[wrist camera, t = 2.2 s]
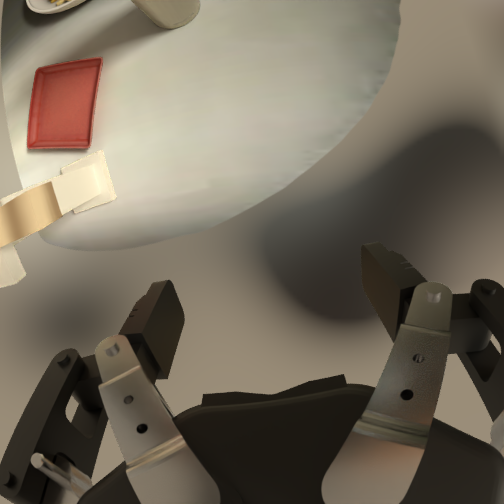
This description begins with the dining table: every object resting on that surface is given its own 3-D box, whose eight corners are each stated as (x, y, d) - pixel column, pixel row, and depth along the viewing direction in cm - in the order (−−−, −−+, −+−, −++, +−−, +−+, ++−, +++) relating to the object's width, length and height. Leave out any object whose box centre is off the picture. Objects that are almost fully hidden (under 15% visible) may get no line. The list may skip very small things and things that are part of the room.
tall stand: (109, 141, 45) (-22, 175, 16) (126, 200, 50) (16, 283, 21) (58, 165, 47) (-61, 214, 17) (74, 217, 51) (-30, 296, 22)
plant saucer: (111, 58, 39) (103, 55, 36) (98, 147, 46) (90, 148, 43) (44, 69, 37) (35, 68, 34) (35, 147, 45) (26, 149, 42)
